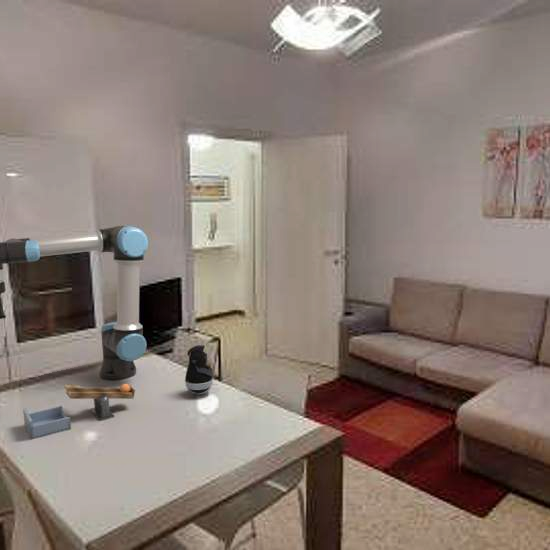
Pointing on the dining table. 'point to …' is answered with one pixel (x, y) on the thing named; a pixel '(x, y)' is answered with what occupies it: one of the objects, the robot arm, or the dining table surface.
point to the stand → (102, 408)
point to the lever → (97, 392)
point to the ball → (125, 388)
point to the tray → (46, 422)
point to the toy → (198, 371)
